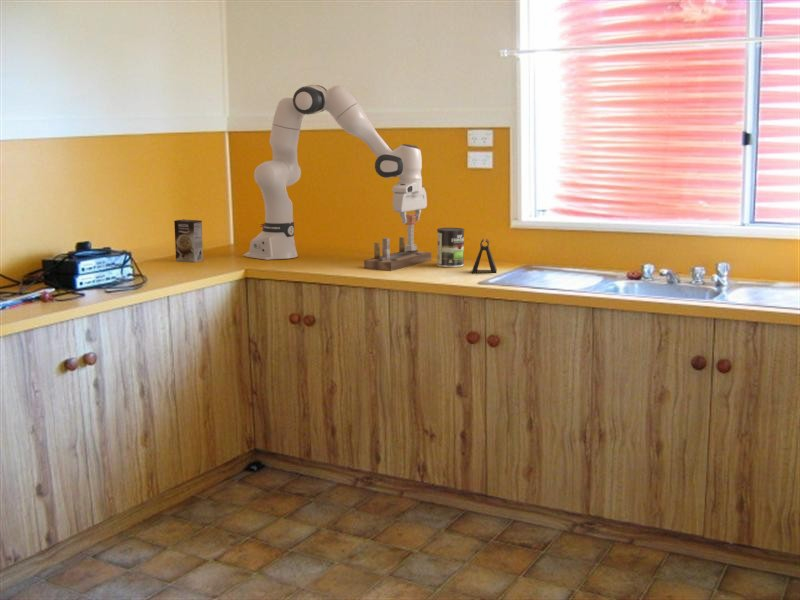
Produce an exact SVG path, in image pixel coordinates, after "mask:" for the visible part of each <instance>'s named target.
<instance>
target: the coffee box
mask: <svg viewBox="0 0 800 600" xmlns="http://www.w3.org/2000/svg"><path fill="white" fill-rule="evenodd" d="M173 222H174V224H173V225H174V243H175V244H174V245H175V247H174V248H175V261H176V262H183V263H184V262H187V263H198V262H202V261H204V255H203V254H204V251H203V220H197V219H184V218H183V219H176V220H173Z"/></svg>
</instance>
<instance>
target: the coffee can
mask: <svg viewBox="0 0 800 600" xmlns="http://www.w3.org/2000/svg"><path fill="white" fill-rule="evenodd" d="M436 231H437V255H436V257H437V259H436V260H437V262H436V263H437V264H436V265H437V267H440V268H462V267H464V262H465V260H464V257H465V256H464V253H465V251H464V250H465V249H464V248H465V245H464V244H465V229H464V228H461V227H440V228H437V229H436Z"/></svg>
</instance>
